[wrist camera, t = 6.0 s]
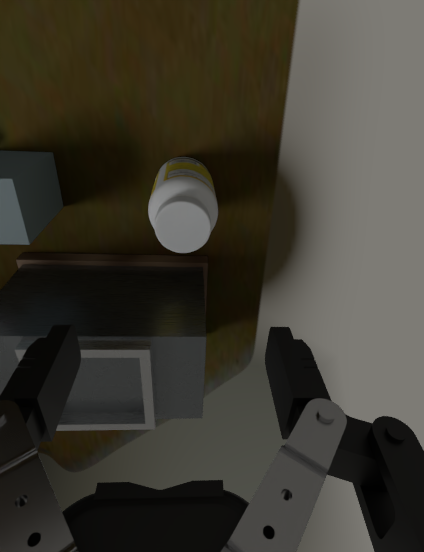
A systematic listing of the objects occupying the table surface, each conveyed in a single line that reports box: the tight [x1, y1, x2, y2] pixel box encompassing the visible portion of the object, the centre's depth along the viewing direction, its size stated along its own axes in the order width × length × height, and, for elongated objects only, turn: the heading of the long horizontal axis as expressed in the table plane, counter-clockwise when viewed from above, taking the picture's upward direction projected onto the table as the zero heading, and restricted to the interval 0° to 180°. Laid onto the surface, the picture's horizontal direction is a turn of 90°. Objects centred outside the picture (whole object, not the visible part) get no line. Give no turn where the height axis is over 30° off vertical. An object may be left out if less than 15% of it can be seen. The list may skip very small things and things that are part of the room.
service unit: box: [0, 253, 208, 431], centre depth 33 cm, size 19×11×13 cm, turn 87°
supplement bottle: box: [148, 157, 218, 253], centre depth 28 cm, size 5×5×10 cm
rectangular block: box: [0, 151, 63, 245], centre depth 28 cm, size 5×5×8 cm
